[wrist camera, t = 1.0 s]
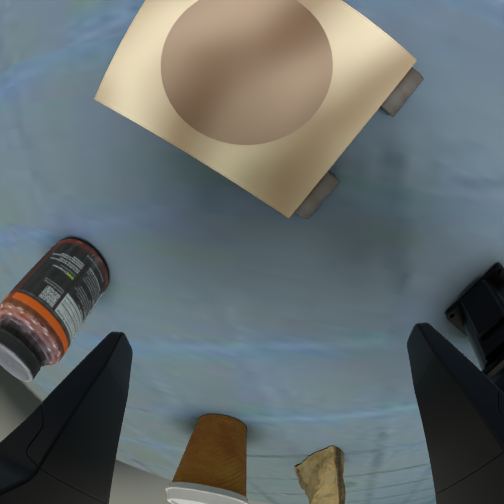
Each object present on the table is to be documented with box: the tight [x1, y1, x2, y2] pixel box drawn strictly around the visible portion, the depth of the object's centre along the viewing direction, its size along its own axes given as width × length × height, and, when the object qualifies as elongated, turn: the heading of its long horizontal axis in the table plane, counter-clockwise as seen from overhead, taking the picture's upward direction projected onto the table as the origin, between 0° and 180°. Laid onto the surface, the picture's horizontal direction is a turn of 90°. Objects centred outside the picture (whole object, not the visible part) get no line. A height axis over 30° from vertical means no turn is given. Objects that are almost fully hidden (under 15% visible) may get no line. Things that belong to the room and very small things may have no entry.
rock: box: [294, 446, 345, 504], centre depth 37 cm, size 10×8×10 cm
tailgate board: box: [95, 0, 424, 220], centre depth 15 cm, size 15×12×1 cm
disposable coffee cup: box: [166, 414, 249, 504], centre depth 31 cm, size 10×10×12 cm
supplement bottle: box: [0, 239, 108, 382], centre depth 20 cm, size 6×6×11 cm
